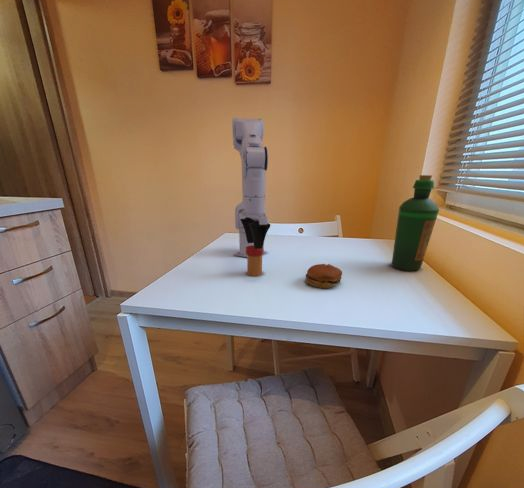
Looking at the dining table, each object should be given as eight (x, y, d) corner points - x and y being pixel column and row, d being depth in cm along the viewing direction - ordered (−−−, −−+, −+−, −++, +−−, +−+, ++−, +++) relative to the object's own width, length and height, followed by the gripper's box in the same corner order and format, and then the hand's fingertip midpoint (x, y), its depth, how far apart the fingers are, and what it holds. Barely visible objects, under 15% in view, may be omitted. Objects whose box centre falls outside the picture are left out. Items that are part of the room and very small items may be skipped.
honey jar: (252, 270, 87) (252, 246, 84) (264, 272, 85) (264, 248, 82) (244, 274, 83) (244, 249, 80) (257, 277, 81) (257, 252, 78)
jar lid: (251, 250, 85) (251, 244, 84) (266, 253, 82) (266, 246, 82) (242, 254, 81) (242, 248, 80) (257, 257, 78) (257, 250, 78)
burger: (309, 289, 73) (310, 272, 72) (302, 276, 82) (304, 261, 80) (346, 289, 74) (348, 272, 72) (335, 276, 82) (337, 261, 81)
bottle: (430, 273, 86) (456, 176, 75) (395, 272, 86) (416, 175, 75) (414, 262, 96) (434, 175, 85) (382, 261, 96) (399, 174, 85)
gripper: (233, 194, 80) (234, 240, 85) (248, 199, 68) (249, 253, 73) (256, 194, 82) (256, 239, 88) (275, 198, 70) (274, 251, 75)
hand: (254, 245), depth 80 cm, fingers open, 6 cm apart
